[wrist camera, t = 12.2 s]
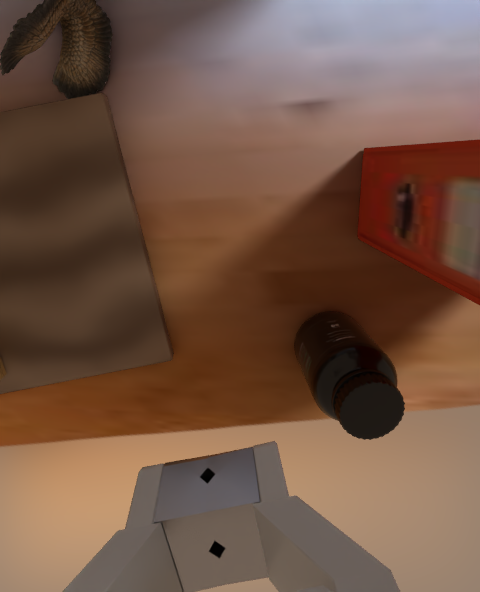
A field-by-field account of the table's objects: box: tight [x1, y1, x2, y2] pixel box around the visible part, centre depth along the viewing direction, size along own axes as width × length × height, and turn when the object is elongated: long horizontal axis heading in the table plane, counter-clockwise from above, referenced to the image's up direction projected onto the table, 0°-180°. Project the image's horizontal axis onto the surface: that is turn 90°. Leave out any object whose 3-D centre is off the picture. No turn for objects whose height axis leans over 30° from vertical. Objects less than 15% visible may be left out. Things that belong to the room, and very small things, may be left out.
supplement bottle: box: [294, 311, 405, 440], centre depth 35 cm, size 7×7×12 cm
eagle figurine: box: [0, 0, 112, 99], centre depth 28 cm, size 8×7×9 cm
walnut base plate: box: [0, 93, 174, 394], centre depth 35 cm, size 23×22×2 cm
